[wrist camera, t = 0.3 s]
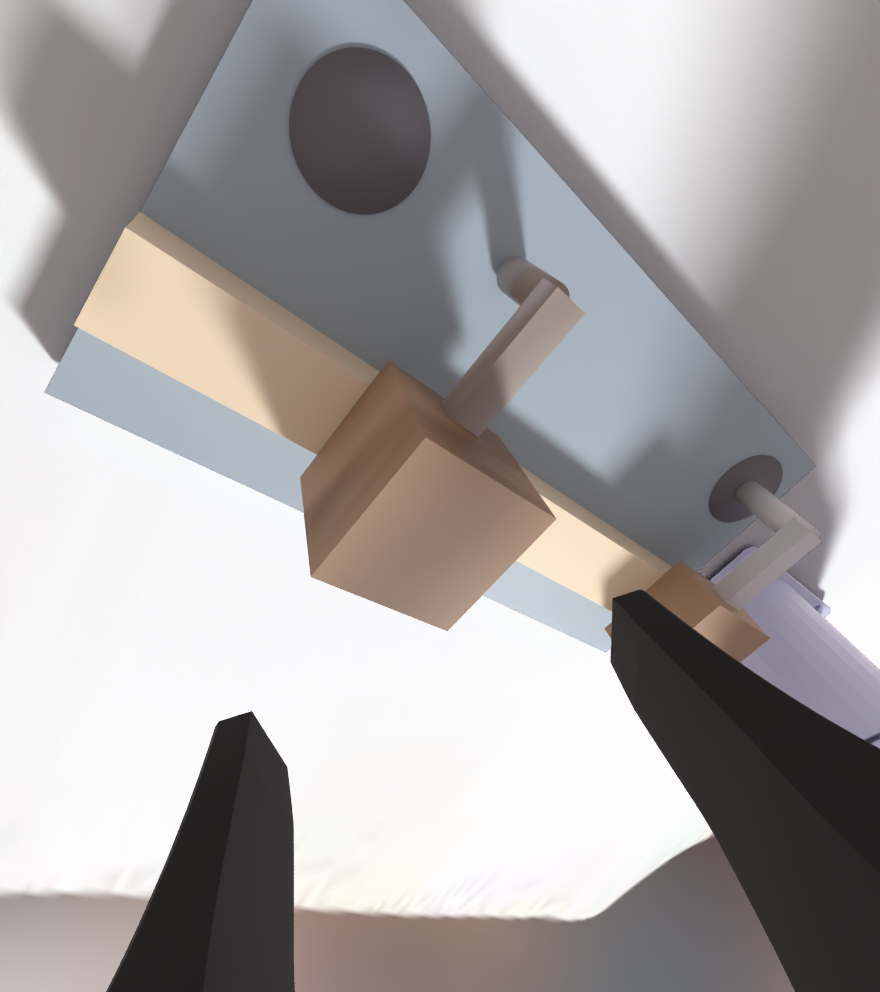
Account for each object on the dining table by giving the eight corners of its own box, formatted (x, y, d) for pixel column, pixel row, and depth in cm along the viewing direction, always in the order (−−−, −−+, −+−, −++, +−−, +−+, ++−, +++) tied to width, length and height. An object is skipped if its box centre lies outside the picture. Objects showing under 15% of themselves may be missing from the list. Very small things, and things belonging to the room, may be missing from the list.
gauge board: (794, 451, 24) (908, 528, 20) (594, 633, 28) (654, 730, 24) (305, -90, 12) (332, -195, 7) (57, 373, 15) (-20, 483, 11)
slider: (573, 305, 16) (688, 383, 12) (403, 504, 19) (447, 631, 14) (473, 209, 14) (569, 263, 10) (296, 448, 17) (310, 576, 12)
